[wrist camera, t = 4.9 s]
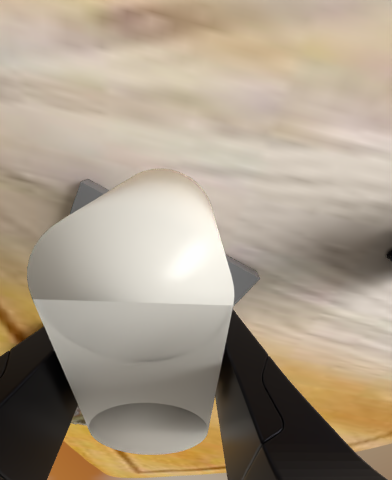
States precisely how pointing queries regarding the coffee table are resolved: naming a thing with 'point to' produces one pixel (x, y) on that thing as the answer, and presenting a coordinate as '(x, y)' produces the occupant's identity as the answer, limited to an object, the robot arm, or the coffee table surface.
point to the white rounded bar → (138, 310)
